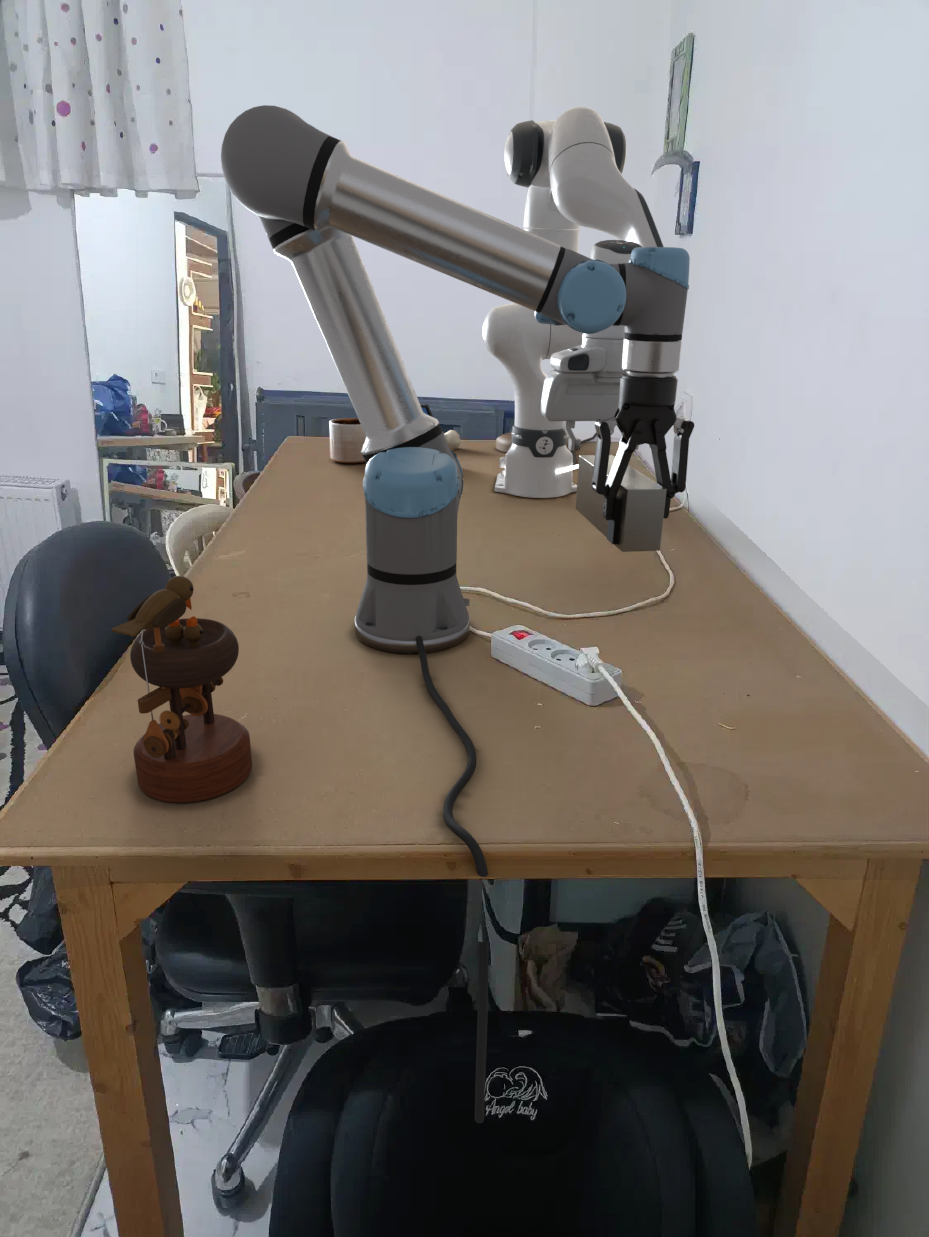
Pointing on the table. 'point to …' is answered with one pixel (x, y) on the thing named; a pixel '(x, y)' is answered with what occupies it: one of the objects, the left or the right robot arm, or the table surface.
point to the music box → (184, 700)
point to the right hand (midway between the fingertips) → (603, 449)
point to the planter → (346, 440)
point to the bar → (625, 506)
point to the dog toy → (452, 439)
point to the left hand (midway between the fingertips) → (633, 540)
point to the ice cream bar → (510, 442)
